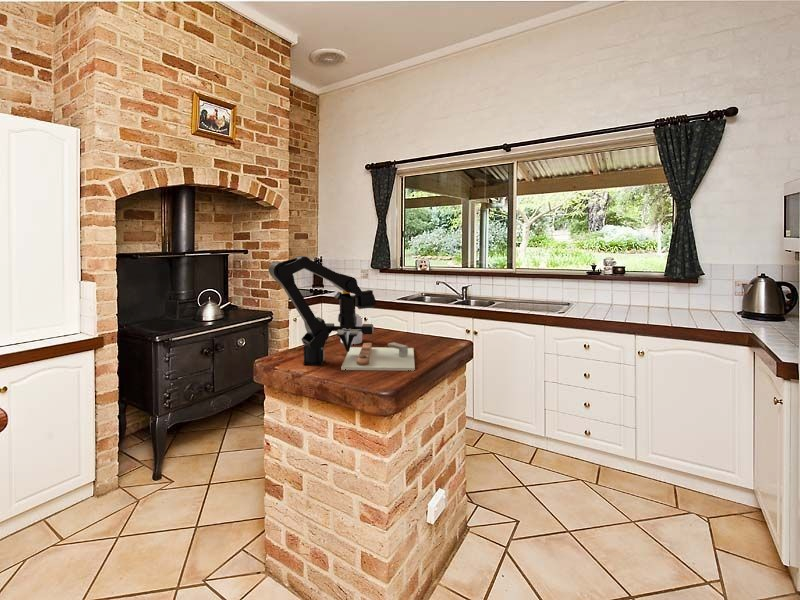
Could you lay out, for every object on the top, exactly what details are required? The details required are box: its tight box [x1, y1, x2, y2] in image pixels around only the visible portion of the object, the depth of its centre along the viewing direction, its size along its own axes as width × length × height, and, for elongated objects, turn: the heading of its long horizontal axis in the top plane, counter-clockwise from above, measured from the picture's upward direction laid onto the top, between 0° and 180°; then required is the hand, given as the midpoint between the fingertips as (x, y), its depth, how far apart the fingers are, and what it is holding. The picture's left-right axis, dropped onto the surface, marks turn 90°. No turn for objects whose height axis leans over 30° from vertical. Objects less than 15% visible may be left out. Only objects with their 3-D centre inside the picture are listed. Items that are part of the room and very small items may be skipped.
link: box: [357, 342, 373, 365], centre depth 165 cm, size 22×4×2 cm, turn 179°
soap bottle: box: [340, 291, 363, 346], centre depth 189 cm, size 9×9×25 cm
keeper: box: [387, 341, 409, 357], centre depth 168 cm, size 3×8×5 cm, turn 44°
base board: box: [340, 346, 416, 372], centre depth 166 cm, size 25×26×1 cm
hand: (347, 351), depth 168 cm, fingers closed
